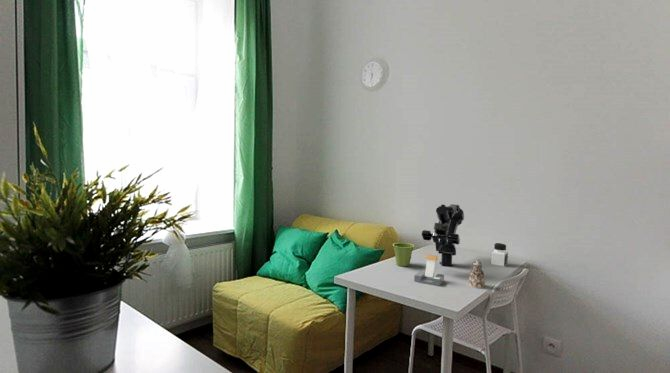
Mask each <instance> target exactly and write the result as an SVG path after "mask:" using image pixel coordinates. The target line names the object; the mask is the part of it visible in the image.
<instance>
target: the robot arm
mask: <svg viewBox="0 0 670 373" xmlns="http://www.w3.org/2000/svg"><path fill="white" fill-rule="evenodd" d="M435 212H436V216H437V219H438V222H434V225H433V230H434V232H433V233H431V230H427V229H426V230H425V229H424V230H422V231H421V236H422V239H423V240H424V241H427V242H428V241H431V240H432V242H433V243H434V244H435V251H436V252H437V253H438V254H439V255H440V254H441V258H440V259H441V261H439V264H440V265H441V266H443V267H454V266H455V265H454V263H453V256H456V255H457V247H456V245H460V240H461V238H460V235H459V234H458V233H457V230H458V226H459V225H461V224H462V223H463V221H465V213H464V212H465V211H464V210H463V209H462V208H461V207H460V205H459V204H450V205H448V206H446V204H441V205H439V206H438V207H437V208H436V209H435Z"/></svg>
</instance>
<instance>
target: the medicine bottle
mask: <svg viewBox="0 0 670 373" xmlns="http://www.w3.org/2000/svg"><path fill="white" fill-rule="evenodd" d="M493 249H494V250H493V251H492V252H491V258H490V259H491V260H490V261H491V262H490V264H491V265H492V266H493V265H494V266H498V267H504V268H505V266H506V265H508V257H509V252H508V251H507V244H505V243H503V242H496V243H494V248H493Z"/></svg>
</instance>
